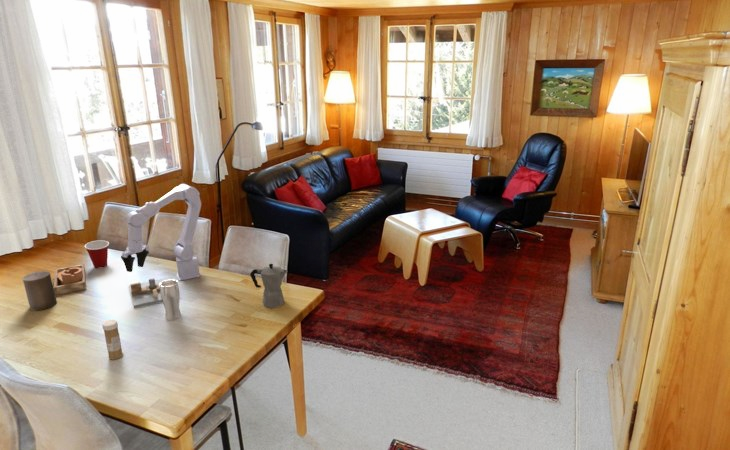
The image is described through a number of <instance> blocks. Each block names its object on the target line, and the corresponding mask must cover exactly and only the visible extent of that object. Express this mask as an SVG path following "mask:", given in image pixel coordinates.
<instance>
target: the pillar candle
mask: <svg viewBox="0 0 730 450" xmlns="http://www.w3.org/2000/svg"><path fill="white" fill-rule="evenodd" d="M22 281H23V284H24V285H23V286H24V289H25V294H26V297H27V301H28V304H29V309H30V310H32V311H43V310H46V309H50V308H52V307H54V306H56V305H57V303H58V301H57V295H55V292H54V283H53V282H52V281H53V280H52V277H51V273H50V272H49V271H47V270H40V271H34V272H31V273H28V274H26V275H24V276H23V277H22Z"/></svg>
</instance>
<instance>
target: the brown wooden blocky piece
mask: <svg viewBox="0 0 730 450" xmlns="http://www.w3.org/2000/svg"><path fill="white" fill-rule="evenodd" d="M141 283H142V282H141V281H139V282H136V283H130V286H131V293H130V295H131V294H132V295H137V294H142V293H146V292H147V293H151V292H153V290H154V289H157V291H160V287H159V284H155V285H156V288H154V289H150V285H149V286H146V287H145V288H141Z"/></svg>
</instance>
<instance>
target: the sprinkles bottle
mask: <svg viewBox="0 0 730 450" xmlns="http://www.w3.org/2000/svg"><path fill="white" fill-rule="evenodd" d="M101 325H102V330H103V333H104V337H105V345H106V350H107V353H108V359H110V360H114V361H115V360H118V359H120V358H121V357H123V355H124V353H123V351H122V350H123V349H122V342H121V338H120V332H119V327H118V325H119V324H118V320H116V319H108V320H105V321H103V322H102V324H101Z"/></svg>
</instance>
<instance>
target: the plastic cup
mask: <svg viewBox="0 0 730 450" xmlns="http://www.w3.org/2000/svg"><path fill="white" fill-rule="evenodd" d="M109 244H110V242H109V241H107V240H104V239H103V240H102V239H101V240H92V241H89V242H87V243H85V244H84V248H85V250H86V251H87V254H88V256H89V259H90V261H91V263H92V265H93V267H94V268H95V269H103V268H105V267H107V266H108V258H109V257H108V250H109V249H108V248H109V246H110V245H109Z"/></svg>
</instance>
